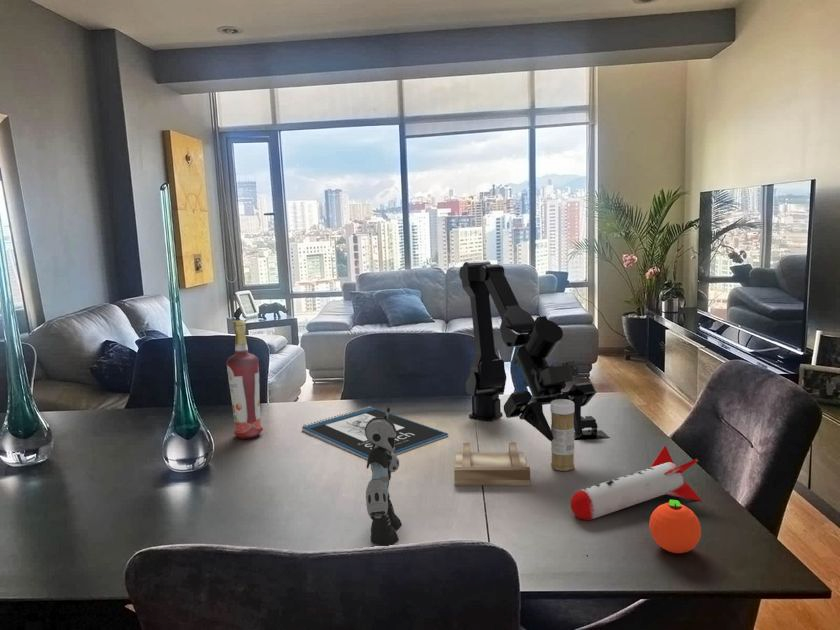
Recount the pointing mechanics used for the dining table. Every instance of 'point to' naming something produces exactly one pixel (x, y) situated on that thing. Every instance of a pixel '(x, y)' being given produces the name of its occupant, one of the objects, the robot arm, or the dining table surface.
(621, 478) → the model rocket
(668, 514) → the clementine
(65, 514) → the dining table surface
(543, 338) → the robot arm
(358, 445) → the sketchbook
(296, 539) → the dining table surface
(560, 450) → the sprinkles bottle
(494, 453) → the cradle jig
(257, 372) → the liquor
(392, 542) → the robot
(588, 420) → the black angular piece
